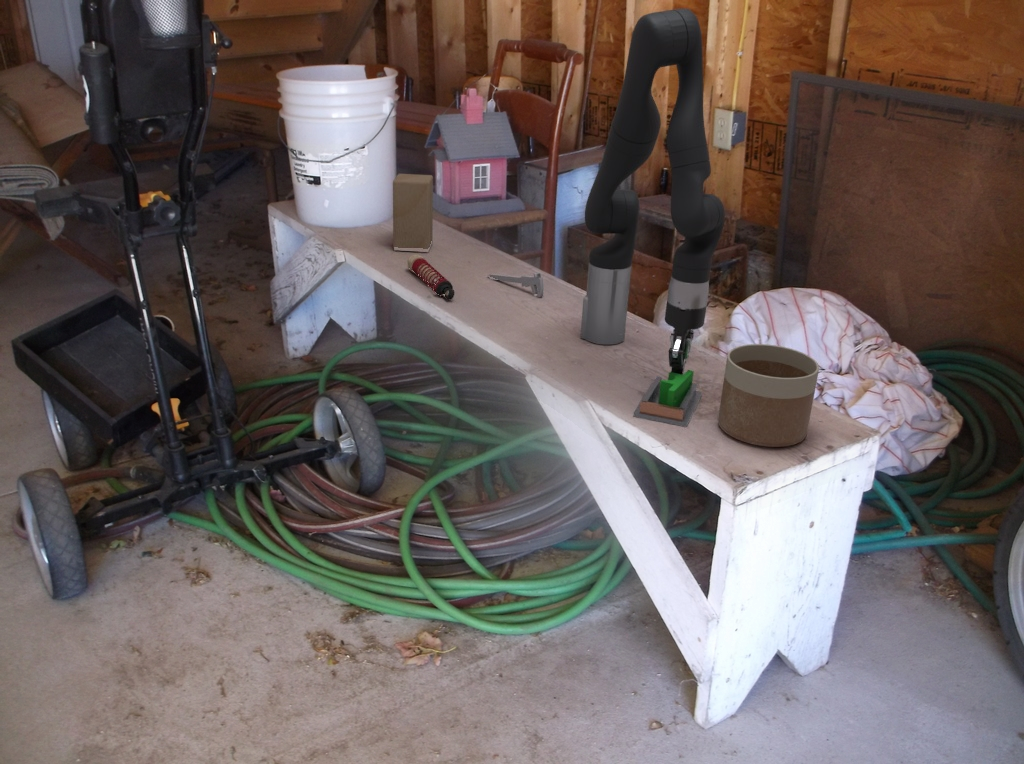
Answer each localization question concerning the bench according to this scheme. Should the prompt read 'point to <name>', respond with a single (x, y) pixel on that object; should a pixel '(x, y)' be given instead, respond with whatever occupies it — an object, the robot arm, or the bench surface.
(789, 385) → the planter
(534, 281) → the caliper
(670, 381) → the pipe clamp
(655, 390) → the steel channel
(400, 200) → the wooden block
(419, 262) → the shock absorber
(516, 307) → the bench surface
